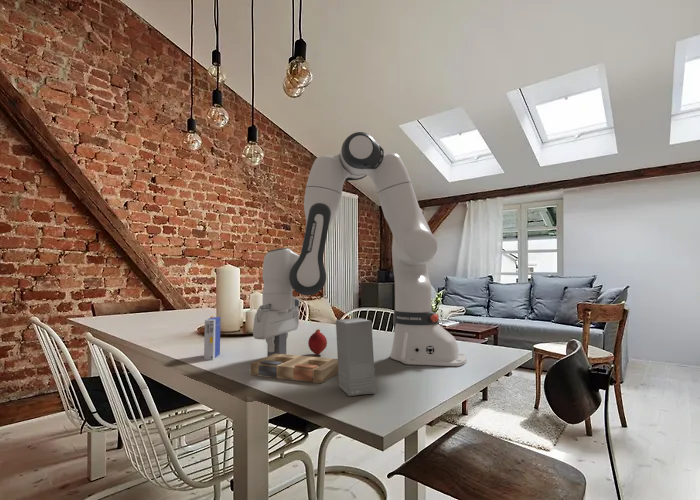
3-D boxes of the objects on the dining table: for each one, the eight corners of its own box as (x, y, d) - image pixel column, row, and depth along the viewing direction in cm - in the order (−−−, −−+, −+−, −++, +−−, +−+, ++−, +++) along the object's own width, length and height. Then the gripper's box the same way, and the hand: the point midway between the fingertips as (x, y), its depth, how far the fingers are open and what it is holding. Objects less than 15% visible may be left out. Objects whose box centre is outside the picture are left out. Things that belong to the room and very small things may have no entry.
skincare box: (376, 394, 85) (376, 321, 85) (344, 397, 83) (344, 322, 83) (363, 383, 93) (363, 316, 93) (334, 386, 91) (335, 317, 91)
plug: (286, 359, 117) (286, 330, 117) (279, 362, 113) (279, 332, 113) (274, 358, 118) (274, 329, 118) (267, 361, 114) (267, 331, 115)
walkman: (211, 354, 124) (211, 316, 124) (219, 354, 124) (220, 315, 124) (203, 360, 116) (204, 319, 116) (212, 359, 116) (213, 319, 117)
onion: (319, 357, 119) (319, 331, 119) (304, 355, 122) (304, 329, 122) (330, 354, 124) (330, 328, 124) (315, 352, 127) (315, 327, 127)
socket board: (340, 370, 104) (340, 357, 104) (321, 383, 93) (321, 369, 93) (275, 364, 111) (275, 352, 111) (250, 375, 100) (250, 361, 100)
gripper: (267, 306, 105) (266, 358, 105) (302, 300, 124) (302, 344, 124) (247, 305, 108) (247, 356, 107) (285, 299, 127) (284, 342, 126)
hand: (277, 349), depth 116 cm, fingers closed on plug, 4 cm apart
